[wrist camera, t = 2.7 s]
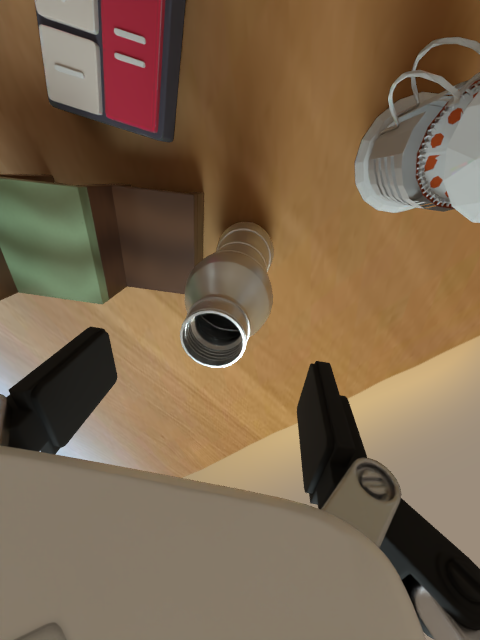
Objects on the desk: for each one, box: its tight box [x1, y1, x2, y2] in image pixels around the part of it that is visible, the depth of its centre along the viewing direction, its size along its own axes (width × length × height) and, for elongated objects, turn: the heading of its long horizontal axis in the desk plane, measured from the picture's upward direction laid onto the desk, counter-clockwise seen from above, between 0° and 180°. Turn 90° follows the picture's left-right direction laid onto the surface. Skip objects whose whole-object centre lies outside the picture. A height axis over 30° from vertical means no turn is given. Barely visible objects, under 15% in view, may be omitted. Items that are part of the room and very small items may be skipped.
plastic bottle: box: [180, 222, 274, 368], centre depth 21 cm, size 6×7×20 cm
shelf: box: [0, 174, 204, 304], centre depth 25 cm, size 11×26×14 cm, turn 85°
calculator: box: [35, 0, 186, 142], centre depth 20 cm, size 11×4×15 cm
